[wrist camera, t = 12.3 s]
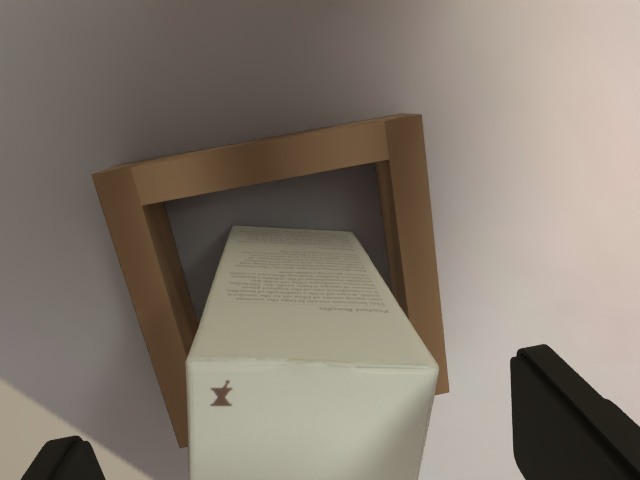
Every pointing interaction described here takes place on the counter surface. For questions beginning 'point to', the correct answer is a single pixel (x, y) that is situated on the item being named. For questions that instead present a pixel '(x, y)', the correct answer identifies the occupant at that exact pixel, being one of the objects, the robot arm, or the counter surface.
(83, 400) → the counter surface
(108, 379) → the counter surface
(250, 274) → the skincare box
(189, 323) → the square wooden frame
